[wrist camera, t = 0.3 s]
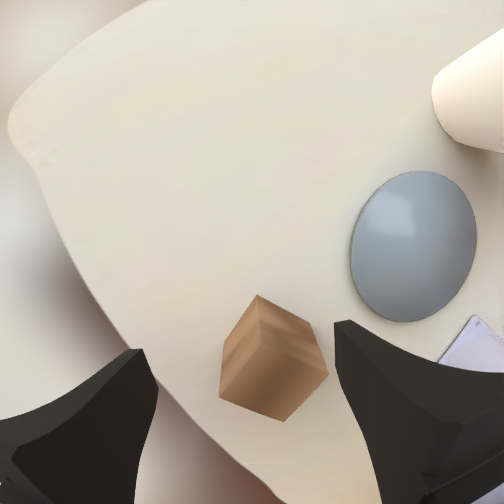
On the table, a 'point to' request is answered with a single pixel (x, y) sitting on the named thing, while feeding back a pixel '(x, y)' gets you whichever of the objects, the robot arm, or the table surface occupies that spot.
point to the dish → (413, 246)
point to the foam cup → (473, 96)
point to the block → (270, 361)
